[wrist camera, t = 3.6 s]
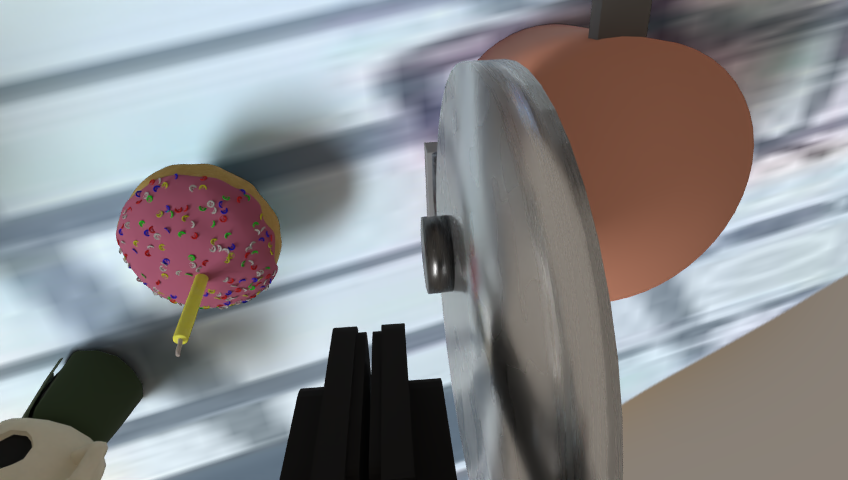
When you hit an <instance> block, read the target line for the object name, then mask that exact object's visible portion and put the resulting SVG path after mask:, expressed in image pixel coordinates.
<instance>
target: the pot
mask: <svg viewBox="0 0 848 480" xmlns="http://www.w3.org/2000/svg"><path fill="white" fill-rule="evenodd" d="M651 5H652V0H592V8H591V17H590V26H589V28H584V27H577V26H571V25H565V24H548V25H540V26H535V27H531V28H527V29H524V30H521V31H519V32H517V33H514V34H512V35H510V36H508V37H506V38H505V39H503V40H501V41H499V42H498V43H497V44H495V45H494V46H493V47H491V48H490V49H489V50H487V51H486V52H485V53H484V54H483V55H482V56H481V57H480V58H479V59H478V60H495V59H509V60H514V61H517V62H518V63H520V64H521V65H523V66H524V67H526V68H527V69H528V70H529V71H530V72H531V73H532V74H533V76H534V77H535V78H536V79H537V80H538V82H539V83H540V84H541V85H542V87H543V89H544V91H545V92H546V94H547V96H548V97H549V99H550V101H551V103H552V104H553V106H554V108H555V109H556V112H557V114H558V116H559V119H560V121H561V123H562V125H563V128H564V130H565V132H566V135H567V137H568V139H569V142H570V144H571V147H572V150H573V153H574V156H575V159H576V162H577V165H578V168H579V171H580V174H581V177H582V180H583V183H584V186H585V189H586V193H587V197H588V201H589V205H590V209H591V212H592V216H593V220H594V224H595V228H596V232H597V236H598V240H599V245H600V250H601V255H602V260H603V265H604V271H605V276H606V281H607V286H608V291H609V296H610V301H615V300H619V299H623V298H627V297H631V296H634V295H636V294H639V293H642V292H645V291H647V290H649V289H651V288H654V287H656V286H658V285H660V284H662V283H663V282H665V281H667V280H669V279H670V278H672V277H674V276H675V275H677V274H678V273H679V272H681V271H682V270H684V269H685V268H686V267H688V266H689V265H690V264H691V263H693V262H694V261H695V260H696V259H697V258H698V257H700V256H701V255H702V254H703V253H704V252H705V251H706V250H707V249H708V248H709V246H710V245H711V244H712V243H713V242H714V241H715V240H716V239H717V237H718V236H719V235H720V233H721V232H722V231H723V230H724V228H725V227H726V225H727V224H728V222H729V221H730V219H731V217H732V216H733V214H734V213H735V211H736V209H737V207H738V205H739V202H740V200H741V198H742V196H743V194H744V191H745V188H746V185H747V182H748V179H749V175H750V171H751V166H752V160H753V149H754V138H753V126H752V121H751V116H750V111H749V109H748V106H747V103H746V101H745V98H744V96H743V94H742V92H741V91H740V89H739V87H738V85H737V84H736V82H735V81H734V80H733V78H732V77H731V76H730V75H729V74H728V73H727V71H726V70H725V69H724V68H723V67H721V66H720V65H719V64H718V63H717V62H715V61H714V60H713V59H712V58H710V57H708V56H707V55H705V54H703V53H701V52H700V51H698V50H696V49H693V48H691V47H688V46H685V45H682V44H679V43H675V42H669V41H664V40H658V39H652V38H646V36H647V29H648V23H649V17H650V11H651ZM437 143H438V142H429V143H424V149H425V174H426V200H427V217H428V216H434V211H433V180H432V154H433V153H434V152H437Z"/></svg>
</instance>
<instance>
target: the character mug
mask: <svg viewBox="0 0 848 480" xmlns="http://www.w3.org/2000/svg"><path fill="white" fill-rule="evenodd" d="M62 359H63V358H61V359H60V360H59V361H58V362H57V364H56V365H55V367H54V368H53V370H52V371H51V372H50V374H49V375H48V377H47V378H46V380H45V381H44V383H43V384H42V386H41V388H40V389H39V391H38V393H37V394H36V396H35V397H34V399H33V401H32V402H31V404H30V405H29V407H28V409H27V410H26V412H25V413H24V415H23V417H22V418H13V419H8V420H5V421H2V422H1V423H0V480H101V478H102V476H103V473H104V470H105V467H106V463H105V459H104V456H105V455H106V452H107V449H108V447H107V442H108V441H109V440H110V439H111V438H112V436H113V435H114V434H115V433H116V432H117V430H118V429H119V428H120V427H121V426H122V424H123V423H124V422H125V420H126V419H127V418H128V416H129V415H130V414H131V412H132V411H133V410H134V408H135V407H136V406H137V404H138V403H139V402H140V400H141V399H142V397H143V388H142V383H141V381H140V380H139V378H138V377H137V375H136V374H135V372H134V371H133V370H132V369H131V368H130V367H129V366H128V365H127V364H126V363H125V362H123V361H122V360H121V359H120V358H119V357H117V356H114V355H111V354H108V353H104V352H101V351H98V350H94V351H76V352H74V353H73V354H72V356H71V357H70V358H69V360H68V361H67V363H66V364H65V365H64V367H63V368H62V369H61V370H60V371H59V372H58V373H57V374H56V375H55V376H54V373H53V372H54V370H55V369H56V368H57V366H58V365H59V363H60V362H61V360H62Z"/></svg>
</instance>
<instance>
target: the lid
mask: <svg viewBox="0 0 848 480" xmlns="http://www.w3.org/2000/svg"><path fill="white" fill-rule="evenodd" d="M432 180H433V211H434V216H428V217H421V247H422V259H423V269H424V276H425V283H426V288H427V292H428V294H433V293H441V297H442V307H443V318H444V327H445V336H446V344H447V352H448V360H449V368H450V375H451V382H452V389H453V395H454V402H455V408H456V414H457V420H458V426H459V431H460V437H461V442H462V448H463V453H464V458H465V462H466V467H467V472H468V477H469V480H622V478H623V446H622V445H623V442H622V440H623V439H622V408H621V394H620V380H619V367H618V356H617V348H616V341H615V333H614V326H613V318H612V311H611V303H610V296H609V291H608V286H607V281H606V276H605V271H604V265H603V260H602V255H601V250H600V245H599V240H598V236H597V232H596V228H595V224H594V220H593V216H592V212H591V209H590V205H589V201H588V197H587V193H586V189H585V186H584V183H583V180H582V177H581V174H580V171H579V168H578V165H577V162H576V159H575V156H574V153H573V150H572V147H571V144H570V142H569V139H568V137H567V135H566V132H565V130H564V128H563V125H562V123H561V121H560V119H559V116H558V114H557V112H556V109H555V108H554V106H553V104H552V103H551V101H550V99H549V97H548V96H547V94H546V92H545V91H544V89H543V87H542V85H541V84H540V83H539V82H538V80H537V79H536V78H535V77H534V76H533V74H532V73H531V72H530V71H529V70H528V69H527V68H526V67H524V66H523V65H521V64H520V63H518V62H517V61H514V60H509V59H495V60H477V61H462V62H460V63H458V64H456V65H455V67H454V68H453V69H452V71H451V73H450V75H449V78H448V80H447V83H446V87H445V91H444V94H443V100H442V105H441V112H440V120H439V130H438V143H437V152H434V153H433V154H432Z"/></svg>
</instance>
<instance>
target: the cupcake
mask: <svg viewBox="0 0 848 480" xmlns="http://www.w3.org/2000/svg"><path fill="white" fill-rule="evenodd" d="M116 239H117V242H118V245H119V246H120V250H119V253H120V254H121V252H123V255H124V258H123V260H124V262H125V263H128V268H131V269H132V270H133V271H134V272H135V274H136V275H137V276H138V278H137V281H138V282H143V284H144V285H146V286H148V287H149V288H150V289H151V290H152V291H153V293H154V295H160V297H161V298H162V297H164V298H166V299H168V300H170V302H172V303H174V304H176V303H178V304H179V305H181V306H182V304H185V306H184V309H183V311H182V314H181V317H180V319H179V322H178V325H177V328H176V330H175V333H174V336H173V341H174V342H175V343H177V348H176V356H177V357H179V356H180V352H181V348H182V344H185V343H187V342H188V340H189V337H190V334H191V331H192V328H193V325H194V322H195V319H196V316H197V312H198V309H199V308H200V309H209V308H215V307H217V308H219V309H224V308H228V306H232V305H235V304H236V305H239V304H241V302H242V303H246V302H247V301H250V300H251V299H252V298H254V297H256V295H258V294H259V293H260V292H261V291H263V290H264V289H265V290H267V289H268V287H269V284H270V283H271V281H272V280H273V279H274V277H275V275H276V273H277V271H278V266H277V265H276V264H277V261H278V258H279V255H280V251H281V246H282V241H281V234H280V225H279V221H278V218H277V216H276V214H275V212H274V211H273V210H272V208H271V207H270V206H269V204H268V203H267V202H266V201H265V200H264V199H263V197H262V196H261V195H260V194H259V193H258V191H257V190H256V188H255V187H254V186H253V185H252V184H251V183H249V182H248V181H246V180H244V179H242V178H240V177H238V176H236V175H234V174H232V173H230V172H228V171H226V170H224V169H222V168H220V167H217V166H215V165H211V164H177V165H171V166H168V167H165V168H163V169H161V170H159V171H157V172H155V173H153V174H152V175H150V176H149V177H147V178H146V179H145V180H144V181H143V182H142V183H141V184H140V185H139V186H138V187H137V188H136V189H135V191H134V192H133V194H132V195H131V197H130V199H129V200H128V201H127V202H126V204H125V206H124V207H123V210H122V212H121V215H120V218H119V222H118V225H117V231H116ZM126 261H127V262H126ZM138 279H139V280H138ZM266 288H267V289H266ZM155 293H156V294H155ZM248 299H249V300H248ZM181 303H182V304H181ZM220 307H221V308H220Z"/></svg>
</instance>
